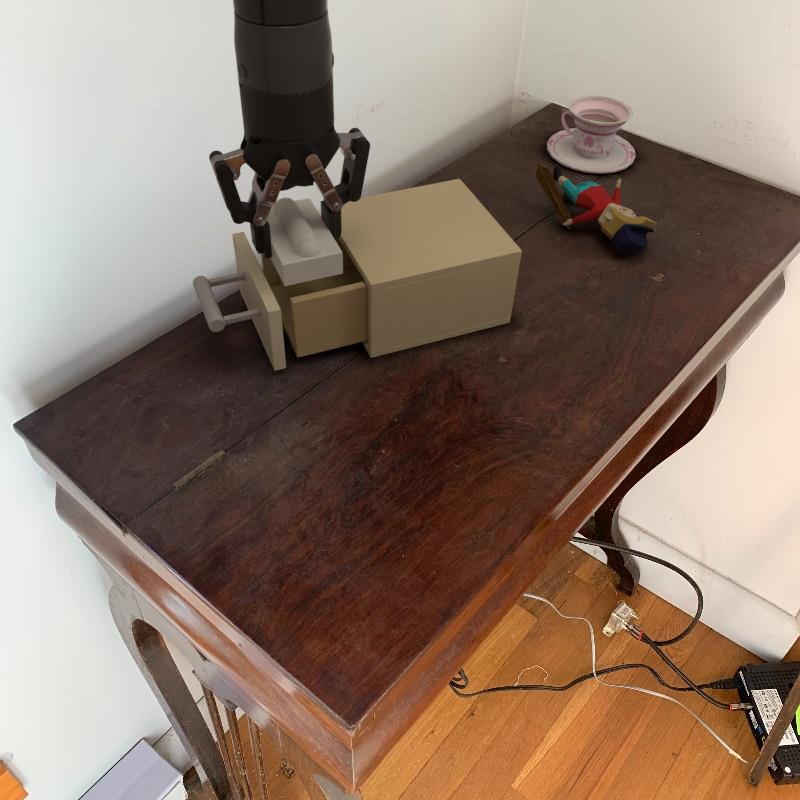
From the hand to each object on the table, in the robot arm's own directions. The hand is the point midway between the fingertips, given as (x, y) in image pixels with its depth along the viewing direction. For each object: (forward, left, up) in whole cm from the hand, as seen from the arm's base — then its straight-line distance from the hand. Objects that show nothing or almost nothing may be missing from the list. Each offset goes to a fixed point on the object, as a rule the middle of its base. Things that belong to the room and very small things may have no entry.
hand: (297, 246), depth 76 cm
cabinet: (+13, 0, -10) cm, 16 cm away
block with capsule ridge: (0, 0, -1) cm, 1 cm away
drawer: (0, 0, -9) cm, 9 cm away
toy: (+38, +5, -10) cm, 39 cm away
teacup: (+48, +21, -10) cm, 53 cm away
